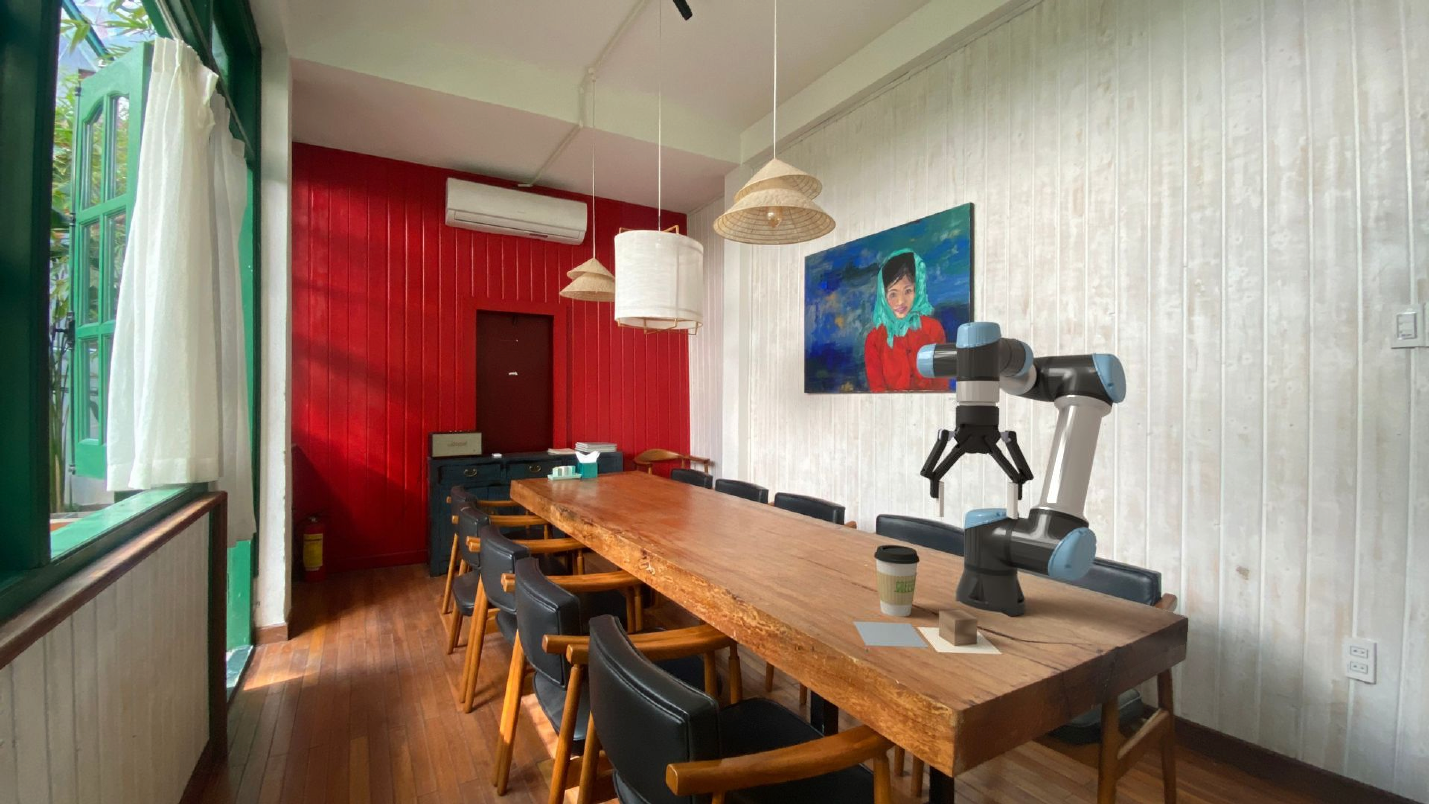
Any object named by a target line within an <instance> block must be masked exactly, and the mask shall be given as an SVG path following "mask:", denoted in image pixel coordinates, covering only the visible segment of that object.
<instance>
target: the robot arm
mask: <svg viewBox="0 0 1429 804" xmlns="http://www.w3.org/2000/svg"><path fill="white" fill-rule="evenodd" d="M1002 336H1003V335H1002V332H1001V326H1000V324H999V323H997V322H995V321H975V322H974V321H973V322H967V323H966V322H965V323H963V324H961V325H960V326H958V328H957V336H956V342H944V343H940V342H939V343H938V342H935V343H930V344H925V345H923V346H921V348H919V350H918V351H917V355H916V369H917V371H918V373H919V374H920V375H921V376H922V377H924V378H927V379H929V378H930V379H931V378H932V379H942V378H944V379H945V378H946V379H950V380H956V382H955V402H956V403H958V405H956V407H955V428H954V430H948V429H946V428H945V429H944V428H940V429H938V432H937V438H936V441H935V443H934V445H933V447H932V449H931V450H930V453H929V455H927V456H928V457H927V458H926V460H925V462H924V464H923V466H922V468H921V470H920V472H919V475H920V476H921V477H923V478H926V479H927V480H928V481H929V495H930V497H931V498H932V499H934V515H935V516H937V517H939V518H944V515H945V513H944V512H945V508H944V507H945V506H944V505H945V482H944V481H942V480H941V479H942V478H944V476H945V475H946V474H947V473H948V472H949V471H950V469H952V467H953V466H954V465H955V464H956V463H957V462H958V461H959V459H960V458H961V457H962V456H964V455H966V454H970V455H971V454H972V455H973V454H974V455H975V454H981V455H990V456H991V458H992V459H993V460H994V461H995V462H996V463H997V464H998V466H999V467H1000V468H1001V469H1002V471H1003V472H1004V473H1005V474H1006V475H1007V477H1008V478H1009V480H1010V481H1007V482H1006V508H1005V507H1004V508H1002V507H993V508H992V507H991V508H975V509H971V510H969V511H967V512H966V514H965V516H964V525H963V530H964V532H963V533H964V535H963V538H964V539H963V542H964V544H963V545H964V547H963V548H964V549H963V552H964V553H963V571H962V573H961V577H960V578H959V581H958V584H957V587H956V590H955V602H960V603H961V604H964V605H965V606H968V607H970V608H974V609H978V610H983V611H987V612H991V613H992V612H993V613H994V612H995V613H1002V614H1004V615H1006V616H1007V617H1015V616H1021V615H1022V614H1024V613H1025V612H1026V604H1027V603H1026V598H1025V596H1024V591H1023V589H1022V587H1021V583H1020V580H1019V575H1018V574H1019V571H1018V570H1023V571H1025V572H1026V571H1028V572H1032V573H1035V574H1040V575H1043V576H1048V577H1051V578H1053V579H1061V580H1067V581H1078V580H1080V579H1082V578H1083V577H1085V575H1086V574H1087V573H1088V572H1089V571H1090V569H1091V568H1092V565H1093V563H1094V560H1095V558H1096V554H1097V545H1096V544H1097V543H1098V541H1097V536H1096V533H1095V532H1094V531H1093V530H1092V529H1091V528H1089V527H1090V522H1089V520H1088V519H1087V518H1086V517H1085V515H1084V510H1085V505H1086V499H1087V495H1088V490H1089V484H1090V480H1091V476H1092V475H1091V474H1092V470H1093V464H1094V460H1095V456H1096V455H1095V454H1096V449H1097V445H1098V439H1099V435H1100V429H1101V424H1102V418H1104V417H1107V416H1108V415H1110V414H1111V412H1112V409H1113V404H1116V405H1117V404H1119V403H1123V402H1124V400H1125V399H1126V397H1127V396H1126V394H1127V380H1126V374H1125V371H1124V367H1123V365H1122V362H1121V361H1120V359H1119V358H1118V357H1117V356H1116V355H1114V354H1112V353H1096V352H1093V353H1090V354H1070V355H1069V354H1067V355H1050V356H1049V355H1047V356H1038V357H1034V351H1033V349H1032V347H1031V346H1030V345H1029V344H1028V343H1026V342H1024V341H1022V340H1019V339H1018V338H1015V337H1013V338H1008V337H1002ZM1000 390H1002V391H1003V392H1004V393H1005V394H1008V395H1011V396H1015V397H1020V398H1023V399H1028V400H1033V401H1038V402H1044V403H1053V405H1054V407H1055V408H1056V409H1057V410H1058V411H1059V412H1058V417H1057V421H1056V425H1055V429H1054V434H1053V438H1052V444H1051V448H1050V451H1049V452H1050V453H1049V458H1048V463H1047V466H1046V470H1045V471H1046V472H1045V475H1044V480H1043V485H1042V489H1041V494H1040V499H1039V503H1038V504H1036V505H1034V506H1032V507H1031V508H1029V512H1028V516H1027V518H1026V517H1020V512H1019V510H1018V509H1019V508H1018V507H1019V506H1018V505H1019V504H1018V503H1019V501H1022V499H1023V485H1025V484H1026V482H1028V481H1033V480H1034V479H1035V476H1034V474H1033V471H1032V469H1031V468H1030V466H1029V464H1028V462H1027V459H1026V457H1025V455H1024V454H1023V452H1022V449H1021V447H1020V445H1019V443H1018V434H1017V432H1016V431H1014V430H1009V429H1008V430H1006V429H1005V431H1000V429H999V425H1000V408H999V406H997V404H998V403H1000V400H1001V399H1000V397H1001V396H1000V394H1001V391H1000ZM953 438H954V440H955V441H956V444H955V445H953V447H952V448H951V450H950V452H949V453H948V454H947V455H946V456H945V458H944V459H942V461H941V462H940V463H939V464H938V462H939V461H940V458H941V457H942V455H943V453H944V450H945V449H946V447H947V446H948V443H949V442H950V441H951V440H952V439H953ZM1000 440H1001V441H1002V443H1004V444H1005V447H1006V449H1007V451H1008V453H1009V455H1010V457H1011V459H1012V461H1013V463H1014V465H1015V467H1016V468H1015V467H1014V466H1013V464H1012V463H1011V462H1010V461H1009V459H1008V458H1007V457H1006V456H1005V454H1004V453H1003V451H1002V450H1001V448H1000V447H999V446H998V445H997V443H998V442H999V441H1000ZM936 466H937V467H936Z"/></svg>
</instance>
